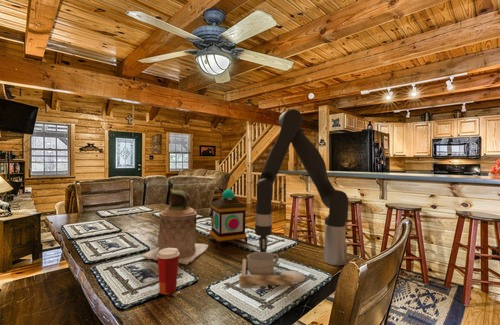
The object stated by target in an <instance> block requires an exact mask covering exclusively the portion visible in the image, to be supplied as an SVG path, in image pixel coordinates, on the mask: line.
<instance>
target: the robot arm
mask: <svg viewBox="0 0 500 325" xmlns="http://www.w3.org/2000/svg"><path fill="white" fill-rule="evenodd" d="M302 124H303V115H302V113H301V112H300V110H297V109H296V108H295V109H294V108H291V109H287V110H286V111H284V112H282V113H281V114H280V115H279V118H278V125H279V127H280V131H279V133H278V136H277V139H276V141H275V143H274V144H273V145H272V148H271V149H270V151H269V153H268V154H267V158H266V159H265V162H264V166H263V170H262V172H261V174H260V176H259V178H258V181H257V183H256V204H255V217H254V234H255V235H257V236H259V237H258V250H259V252H267V250H268V243H269V242H268V240H269V238H268V237H269V236H271V235H272V234H273V215H272V214H273V213H272V212H273V206H272V205H273V204H272V202H273V201H272V199H273V191H274V190H273V185H274V182H275V179H276V177H277V176H278V174H279V172H280V169H281V167H282V164H283V162H284V160H285V157H286V154H287V153H288V152H287V151H288V150H289V149H290V145H292V147H293V149H294V150H295V153H296V155H297V157H298V159H299V160H300V161H299V162H301V164H302V166H303V167H304V169H305V171H306V173H307V174H308V176H309V178H310V180H311V182H312V183H313V185H314V186H315V188H316V190H317V192H318V195H319V197H320V199H321V202H322V204H323V205H324V206H325V207H326V208H327V209H329V211H328V216H325V218H324V235H323V236H324V237H323V238H324V239H323V240H324V242H323V243H324V245H323V247H324V248H323V250H324V251H323V252H324V253H323V261H324V263H326V264H329V265H331V266H343V265H347V264H346V263H348V243H347V242H346V233H347V231H346V229H347V228H346V225H347V221H348V218H349V197H348V194H346V192H344V191H342V190H339V189H336V188H335V187H334V186H333V184H332V182H330V179H329V177H328V174H327V173H328V172H327V165H326V162H325V160H324V158H323V156H322V154H321V152H320V151H319V149H318V148H317V147H316V146H315V145H314V144H313V142H312V141H311V140H310V139H309V137H307V136H306V134H305V133H304V131H303V128H302V127H301V126H302Z"/></svg>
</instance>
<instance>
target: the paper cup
mask: <svg viewBox="0 0 500 325" xmlns="http://www.w3.org/2000/svg"><path fill="white" fill-rule="evenodd" d="M179 254H180V253H179V251H178V249H176V248H165V249H161V250H160V251H159V252H158V254H157V255H156V256H157V257H158V260H157V267H158V268H157V270H158V286H159V287H158V288H159V294H161V295H164V296H165V295H166V296H167V295H171V294H173V293H175V292H176V291H177V286H178V285H177V283H178V270H179V263H178V259H179Z"/></svg>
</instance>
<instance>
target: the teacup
mask: <svg viewBox="0 0 500 325" xmlns="http://www.w3.org/2000/svg"><path fill="white" fill-rule="evenodd" d="M246 256H247V258H246V259H247V271H248V272H249V275H272V273H273V272H274V269H275V268H274V267H275V265H276V264H277V263H278V262H279V258H280V257H279V255H278V254H277V252H273V253H271V252H267V251H266V252H260V251H256V252H255V251H254V252H251V253H249V254H247V255H246ZM274 257H275V259H274Z"/></svg>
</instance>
